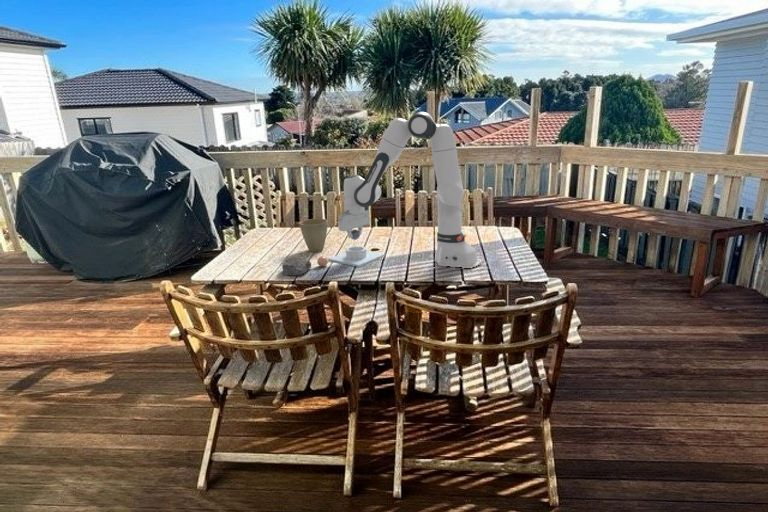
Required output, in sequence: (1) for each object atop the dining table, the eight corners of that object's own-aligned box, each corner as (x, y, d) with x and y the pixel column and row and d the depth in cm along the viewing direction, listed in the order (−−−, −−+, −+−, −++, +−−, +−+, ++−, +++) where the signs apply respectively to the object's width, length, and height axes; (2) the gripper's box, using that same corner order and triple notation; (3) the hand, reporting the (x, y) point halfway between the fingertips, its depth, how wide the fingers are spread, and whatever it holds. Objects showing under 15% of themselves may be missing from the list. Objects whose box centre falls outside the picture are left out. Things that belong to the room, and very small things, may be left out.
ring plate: (384, 256, 228) (383, 246, 227) (359, 267, 213) (358, 256, 212) (354, 250, 240) (353, 241, 238) (328, 260, 225) (327, 251, 223)
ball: (330, 265, 217) (329, 255, 215) (323, 268, 213) (322, 258, 211) (322, 263, 220) (322, 254, 218) (315, 266, 216) (314, 256, 214)
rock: (302, 278, 202) (314, 268, 216) (302, 264, 200) (314, 255, 214) (276, 276, 204) (290, 266, 218) (275, 262, 203) (289, 254, 217)
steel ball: (362, 239, 224) (361, 229, 223) (355, 241, 220) (355, 231, 219) (354, 237, 227) (354, 228, 225) (347, 240, 223) (347, 230, 222)
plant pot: (313, 245, 253) (311, 217, 248) (335, 248, 246) (333, 219, 241) (296, 252, 241) (293, 223, 236) (318, 255, 234) (315, 225, 229)
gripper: (344, 213, 209) (345, 241, 213) (371, 206, 225) (372, 232, 229) (334, 211, 213) (336, 240, 217) (361, 204, 228) (362, 231, 232)
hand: (354, 236), depth 223 cm, fingers closed on steel ball, 5 cm apart
